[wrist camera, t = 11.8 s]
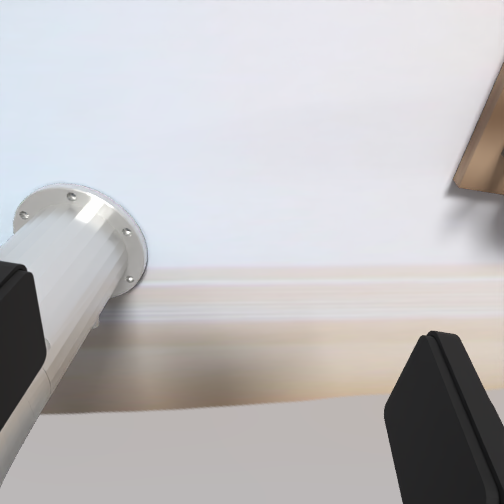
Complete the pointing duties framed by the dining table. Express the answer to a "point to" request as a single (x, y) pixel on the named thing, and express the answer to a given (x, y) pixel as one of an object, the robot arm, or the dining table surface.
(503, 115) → the collar stand
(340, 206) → the dining table surface
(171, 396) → the dining table surface
